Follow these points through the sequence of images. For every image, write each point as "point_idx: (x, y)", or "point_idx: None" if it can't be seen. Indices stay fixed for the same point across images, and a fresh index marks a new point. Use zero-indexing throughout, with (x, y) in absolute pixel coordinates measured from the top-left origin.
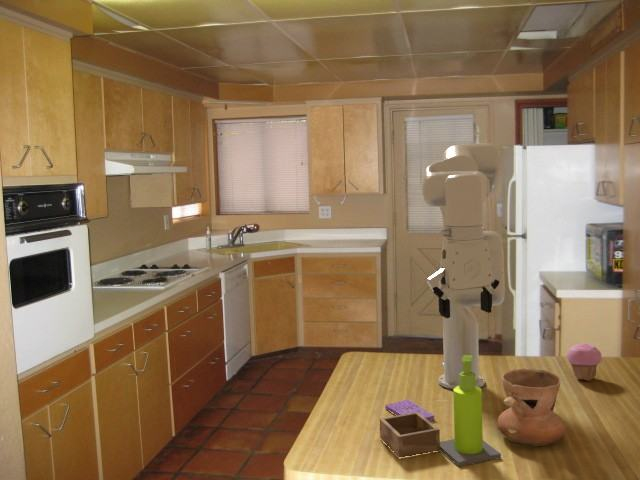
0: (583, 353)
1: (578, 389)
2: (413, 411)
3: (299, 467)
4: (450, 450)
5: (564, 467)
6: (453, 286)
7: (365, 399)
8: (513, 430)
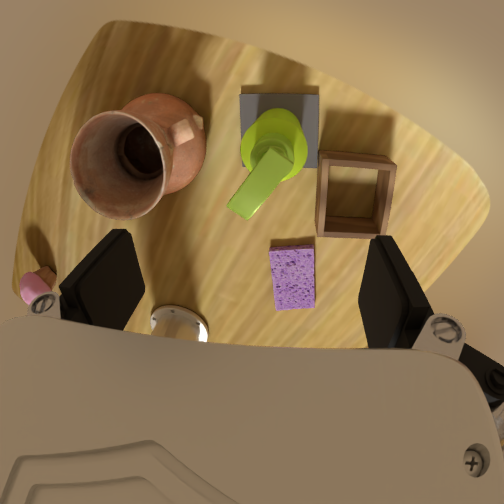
0: (32, 287)
1: (60, 253)
2: (291, 274)
3: (486, 200)
4: (309, 134)
5: (169, 45)
6: (461, 376)
7: (321, 333)
8: (195, 120)
